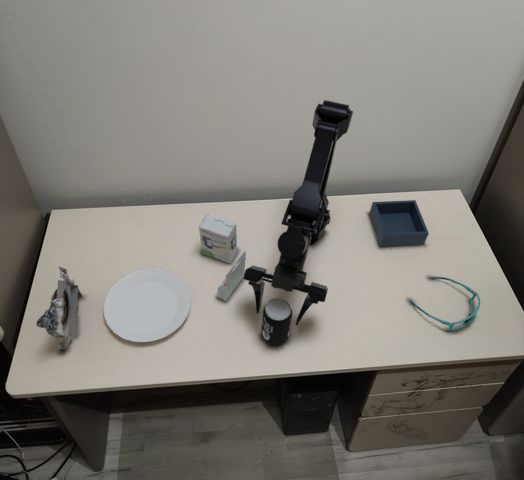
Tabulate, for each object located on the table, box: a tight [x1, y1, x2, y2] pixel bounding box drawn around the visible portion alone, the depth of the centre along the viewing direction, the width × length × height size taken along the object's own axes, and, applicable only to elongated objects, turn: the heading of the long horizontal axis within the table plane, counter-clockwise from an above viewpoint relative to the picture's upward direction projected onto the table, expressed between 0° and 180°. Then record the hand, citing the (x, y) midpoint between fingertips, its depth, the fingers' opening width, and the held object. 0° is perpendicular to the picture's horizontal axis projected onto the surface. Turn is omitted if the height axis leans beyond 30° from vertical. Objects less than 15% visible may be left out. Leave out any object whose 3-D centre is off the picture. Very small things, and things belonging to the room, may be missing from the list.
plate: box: [103, 267, 192, 343], centre depth 119 cm, size 21×21×2 cm
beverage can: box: [261, 297, 293, 347], centre depth 112 cm, size 7×7×12 cm
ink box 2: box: [217, 250, 247, 302], centre depth 121 cm, size 3×9×12 cm, turn 150°
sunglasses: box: [409, 276, 481, 332], centre depth 123 cm, size 14×15×5 cm
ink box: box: [198, 213, 238, 264], centre depth 127 cm, size 9×5×12 cm, turn 68°
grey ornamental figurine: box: [35, 266, 83, 353], centre depth 112 cm, size 15×4×13 cm, turn 4°
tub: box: [368, 199, 430, 248], centre depth 138 cm, size 13×13×5 cm
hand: (276, 319), depth 111 cm, fingers open, 9 cm apart
